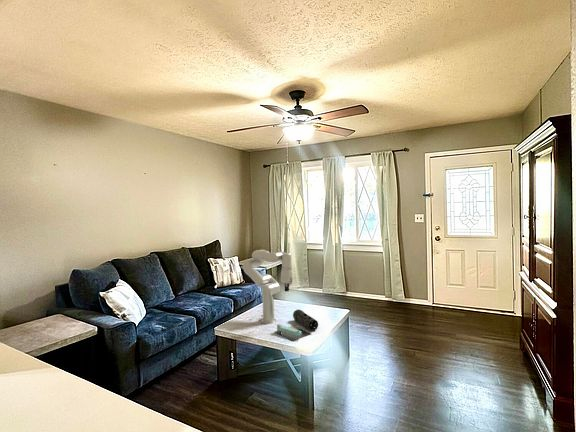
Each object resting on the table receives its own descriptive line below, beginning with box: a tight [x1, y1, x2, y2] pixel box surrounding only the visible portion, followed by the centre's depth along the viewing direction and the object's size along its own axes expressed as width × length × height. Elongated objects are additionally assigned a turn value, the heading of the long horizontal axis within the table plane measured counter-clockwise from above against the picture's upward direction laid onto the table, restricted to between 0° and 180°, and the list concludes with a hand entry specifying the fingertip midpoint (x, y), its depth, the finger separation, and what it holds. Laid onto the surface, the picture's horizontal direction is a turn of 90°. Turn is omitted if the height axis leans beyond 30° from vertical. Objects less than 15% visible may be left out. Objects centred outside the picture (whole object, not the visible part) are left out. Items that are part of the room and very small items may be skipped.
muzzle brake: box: [292, 309, 319, 332], centre depth 253 cm, size 10×28×10 cm, turn 25°
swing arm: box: [276, 323, 301, 336], centre depth 233 cm, size 22×4×5 cm, turn 53°
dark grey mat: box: [273, 325, 312, 342], centre depth 237 cm, size 22×20×1 cm
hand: (286, 291), depth 251 cm, fingers closed
